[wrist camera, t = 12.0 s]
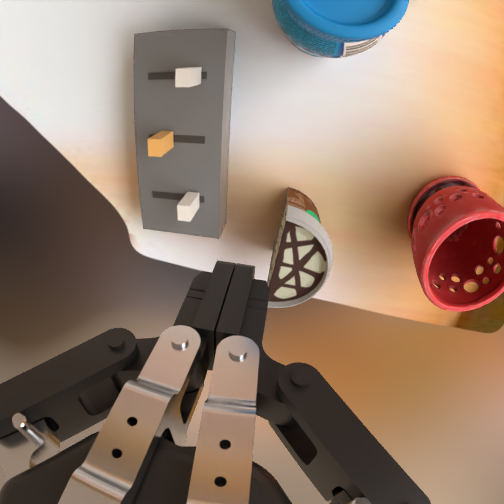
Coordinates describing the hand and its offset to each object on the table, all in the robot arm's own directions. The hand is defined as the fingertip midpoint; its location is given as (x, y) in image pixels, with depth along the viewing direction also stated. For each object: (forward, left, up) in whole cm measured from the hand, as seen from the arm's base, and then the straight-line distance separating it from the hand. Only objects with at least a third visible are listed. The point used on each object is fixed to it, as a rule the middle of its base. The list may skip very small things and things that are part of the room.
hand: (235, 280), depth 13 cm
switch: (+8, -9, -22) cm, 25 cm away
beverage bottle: (-13, +3, -27) cm, 30 cm away
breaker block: (+1, -11, -26) cm, 28 cm away
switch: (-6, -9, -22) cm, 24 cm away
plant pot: (+7, +22, -27) cm, 35 cm away
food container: (+12, +4, -27) cm, 29 cm away
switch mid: (+1, -12, -22) cm, 25 cm away
